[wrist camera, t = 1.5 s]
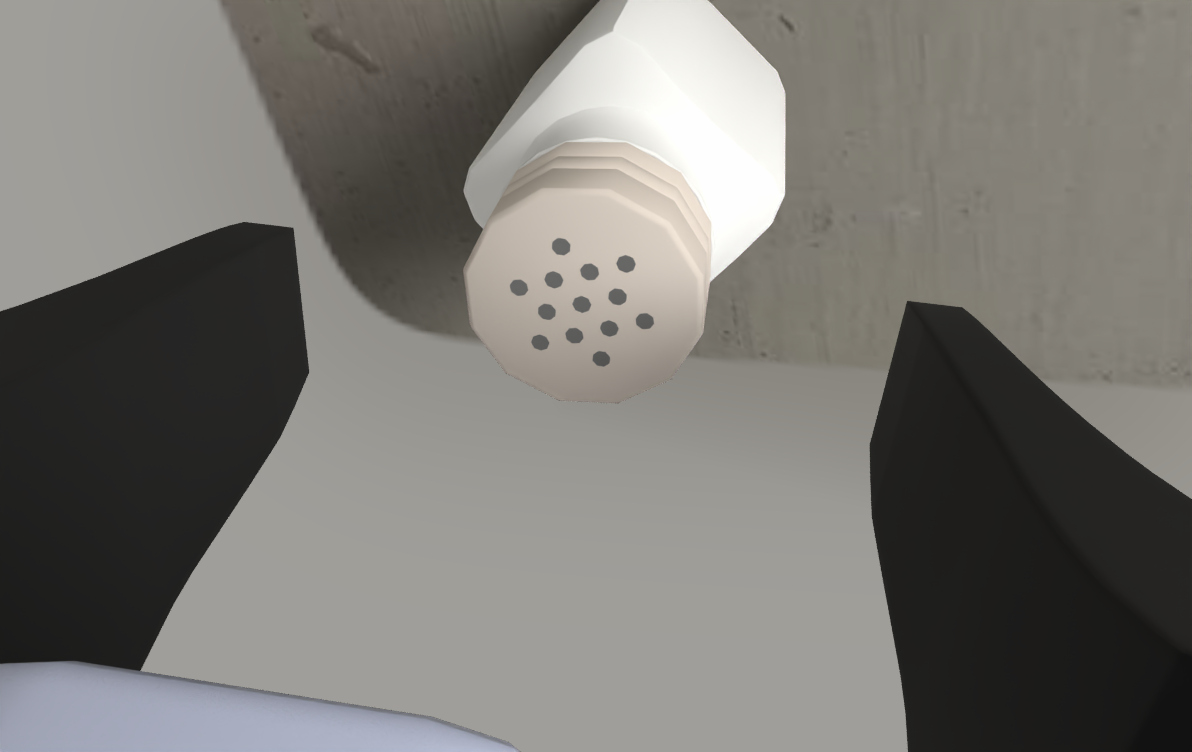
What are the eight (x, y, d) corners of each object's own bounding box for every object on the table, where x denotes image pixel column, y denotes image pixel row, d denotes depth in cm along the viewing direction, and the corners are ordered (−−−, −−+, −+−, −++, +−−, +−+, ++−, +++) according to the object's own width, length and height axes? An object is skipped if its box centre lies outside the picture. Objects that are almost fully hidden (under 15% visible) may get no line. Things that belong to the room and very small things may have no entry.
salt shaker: (659, 212, 23) (592, 478, 15) (522, 84, 22) (372, 297, 14) (798, 83, 21) (805, 311, 13) (654, -64, 20) (568, 87, 12)
